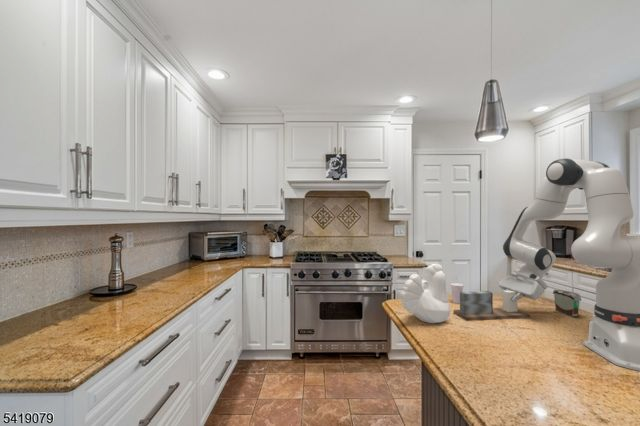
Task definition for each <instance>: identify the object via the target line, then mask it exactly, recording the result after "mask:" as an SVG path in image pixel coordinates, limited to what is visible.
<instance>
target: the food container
mask: <svg viewBox="0 0 640 426" xmlns="http://www.w3.org/2000/svg"><path fill="white" fill-rule="evenodd" d="M552 294H553V296H554V307H555V311H556V312H557V313H560V314H562V315H565V316H568V317H570V318H572V319H573V318H574V319H575V318H578V317H579V312H580V308H579V307H580V302H581V301H582V297H581V294H579V293H577V292H574V291H568V290H563V289H553V291H552Z"/></svg>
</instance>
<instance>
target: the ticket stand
mask: <svg viewBox="0 0 640 426" xmlns="http://www.w3.org/2000/svg"><path fill="white" fill-rule="evenodd" d="M493 298H494V297H493V292H491V291H488V290H485V291H483V290H482V291H481V290H480V291H462V292H460V304H459V309H453V314H454V315H456V316H458V317H459V318H461V319H462V320H465V321H467V322H469V321H470V322H471V321H490V320H492V321H493V320H513V319H516V320H517V319H531V318H532V317H531V315H532V314H530V313H528V312H525V311H522V310H520V309H518V312H507V311H504V310H503V307H495V308H494V307H493V306H494V305H493V302H494V301H493Z"/></svg>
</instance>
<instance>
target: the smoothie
mask: <svg viewBox="0 0 640 426" xmlns="http://www.w3.org/2000/svg"><path fill="white" fill-rule="evenodd" d="M463 289H464V284H463V283H458V275H455V282H452V283H451V282H450V290H451V296H452V301H453V303H454V304H459V305H460V292H464V291H463Z"/></svg>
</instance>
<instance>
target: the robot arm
mask: <svg viewBox="0 0 640 426" xmlns="http://www.w3.org/2000/svg"><path fill="white" fill-rule="evenodd" d="M576 189H579V190H581V191H582V190H583V192H584V196H585V203H586V210H587V217H588V221H587V225H586V228H585V230H584V232H583V233H582V234H581V235H580V236H579V237H578V238H577V239H575V240H574V241H573V243H572V244H571V248H570V251H571V255H572V258H573V259H574V260H575V261H576V262H577V263H578V264H580V265H583V266H587V267H591V268H592V267H593V268H603V269H604V268H606V269H611V271H610V273H608V275H607V276H606V277H604V278H602V279H598V281H597V282H596V284H595V304H594V307H593V312H594V315H595V316H594V317H593V319H592V320H590V321H589V326H588V327H589V328H588V338H587V339H588V340H584V341H583V346H585V347H586V348H588V349H590V350H592V351H593V352H595V353H596V354H598V355H599V356H601V357H603V358H604V359H606V360H607V361H609V362H610V363H612V364H614V365H616V366H618V367H622V368H626V369H630V370H634V371H639V372H640V236H638V235H636V236H635V235H620V229H621V227H622V225H626V224H627V223H629V222H630V221H631V220H633V218H634V209H633V205H632V200H631V199H632V198H631V196H630V192H629V191H630V190H629V188H628V185H627V183H626V180H625V178H624V175H623V174H622V173H621V171H620V170H618V169H617V168H615V167H614V168H613V167H610V166H609V165H608V164H605V163H603V162H600V161H592V160H586V159H582V158H581V159H580V158H559V159H556V160H553V161H552V162H551V163H550V164H549V165H548V166H547V168H546V171H545V176H544V177H543V178H542V180H541V181H540V184H539V185H538V188H537V190H536V194H535V196H534V200H533V201H532V203H531V204H530V205H529V206H527V207H525V208H524V209H522V211H521V212H520V214H519V215H518V218H517V220H516V222H515V223H514V225H513V228H512V229H511V232H510V233H509V236H508V237H507V238H506V240H505V241H504V243H503V245H502V250H503V253H504V255H505V256H506V257H508V258H511V259H514V260H518V261H520V262H522V263H525V264H524V265H523V266H521V268H520V269H519V270H518V271H517V272H516V273H515V274H514V273H511V274H508V275H506V276H504V277H503V278H502V279H501V280H500V281H499V282H498V283H497V285H498V287H499V288H500V289H501V290H502V291H510V290H512V291H516V292H517V295H516V296H514V297H513V296H512V298H511V300H512V301H513V302H516V301H517V302H518V300H520V299H523V298H528V299H530V300H533V301H536V300H539V299H540V298H541V297H542V295H543V294H544V292H545V290H547V289H548V288H549V286H548V285H547V283H546V282H545V281H544V280H543V277H544V276H545V275H546V274H548V272H550V270H551V269H552V267H553V266H554V264H555V262H556V260H557V257H556V254H555V253H554V252H553V251H552V250H550V249H547V248H546V247H544V246H542V245H539V244H537V243H532V242H529V241H526V240H524V239H523V237H524V235H525V234H526V231H527V230H528V227H529V226H530V224H531V223H533V222H536V221H546V220H552V219H556V218H558V217H560V216H562V215H563V213H564V211H565V209H566V206H567V203H568V200H569V197H570V196H569V195H570V194H571V192H572V191H574V190H576Z"/></svg>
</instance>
